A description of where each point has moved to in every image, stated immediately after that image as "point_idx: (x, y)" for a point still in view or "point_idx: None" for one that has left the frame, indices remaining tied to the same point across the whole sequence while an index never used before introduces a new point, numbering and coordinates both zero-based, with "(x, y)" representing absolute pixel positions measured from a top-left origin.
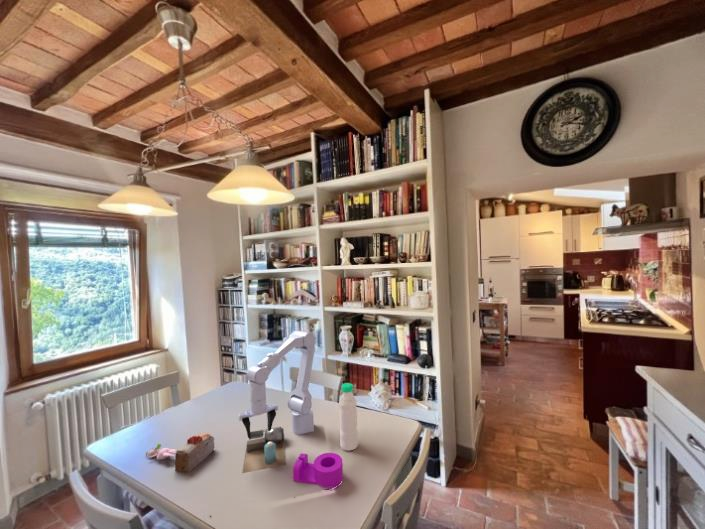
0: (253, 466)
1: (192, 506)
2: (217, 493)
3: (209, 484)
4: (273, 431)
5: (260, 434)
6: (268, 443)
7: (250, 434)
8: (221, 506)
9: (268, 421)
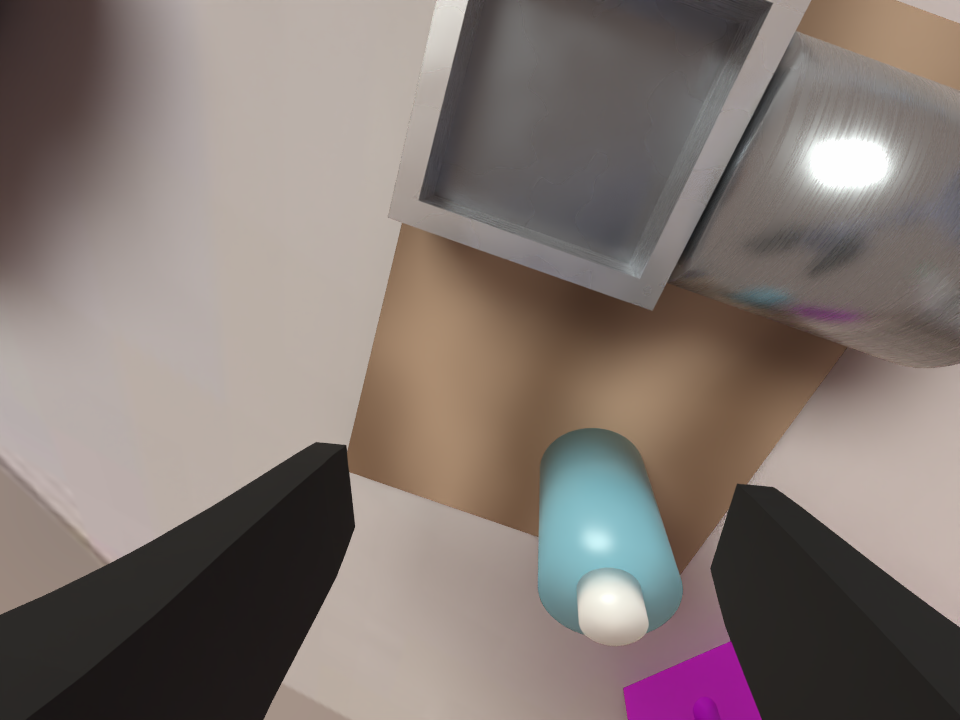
0: (437, 456)
1: (76, 503)
2: (198, 497)
3: (132, 390)
4: (863, 291)
5: (679, 13)
6: (592, 621)
7: (326, 595)
8: None
9: (849, 713)
